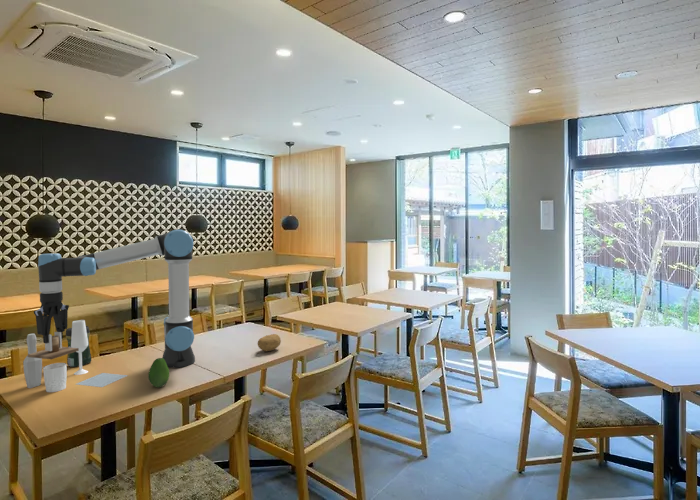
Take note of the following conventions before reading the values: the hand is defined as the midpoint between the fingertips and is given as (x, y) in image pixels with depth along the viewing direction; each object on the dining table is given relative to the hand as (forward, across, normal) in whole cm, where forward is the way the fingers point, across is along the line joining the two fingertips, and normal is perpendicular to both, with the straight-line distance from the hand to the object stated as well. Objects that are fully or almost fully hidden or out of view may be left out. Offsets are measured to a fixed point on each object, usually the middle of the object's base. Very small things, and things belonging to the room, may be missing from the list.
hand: (53, 349), depth 171 cm
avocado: (+17, -13, +39) cm, 45 cm away
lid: (+2, 0, 0) cm, 2 cm away
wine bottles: (+17, -28, -19) cm, 38 cm away
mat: (+17, -13, +10) cm, 24 cm away
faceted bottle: (+17, -1, -13) cm, 21 cm away
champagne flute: (+17, -18, -7) cm, 26 cm away
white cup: (+17, 0, 0) cm, 17 cm away
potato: (+17, -70, +61) cm, 94 cm away
